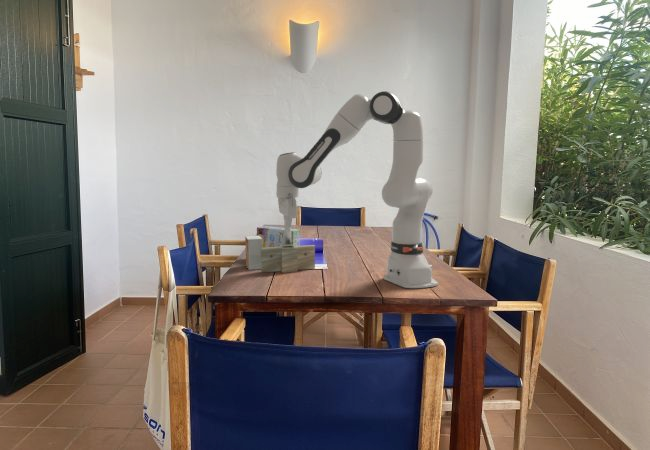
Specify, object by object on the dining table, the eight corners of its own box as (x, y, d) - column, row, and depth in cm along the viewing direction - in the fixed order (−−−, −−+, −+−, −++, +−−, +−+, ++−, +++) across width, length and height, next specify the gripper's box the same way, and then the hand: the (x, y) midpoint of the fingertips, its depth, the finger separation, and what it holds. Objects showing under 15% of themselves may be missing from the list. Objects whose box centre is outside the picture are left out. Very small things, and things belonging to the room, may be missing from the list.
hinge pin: (291, 244, 197) (291, 212, 195) (285, 244, 197) (284, 212, 195) (290, 242, 200) (290, 211, 198) (284, 243, 199) (283, 212, 197)
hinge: (316, 270, 200) (316, 246, 198) (262, 273, 194) (262, 249, 192) (312, 266, 206) (312, 243, 204) (260, 270, 200) (260, 246, 198)
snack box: (300, 262, 214) (300, 229, 212) (293, 264, 210) (292, 230, 207) (264, 256, 226) (263, 225, 224) (256, 259, 221) (255, 226, 219)
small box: (245, 265, 208) (245, 236, 206) (260, 264, 210) (259, 235, 208) (248, 270, 200) (247, 239, 198) (263, 269, 202) (262, 238, 200)
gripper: (300, 195, 186) (300, 230, 188) (290, 190, 205) (290, 222, 208) (284, 195, 184) (285, 230, 186) (275, 191, 204) (276, 223, 206)
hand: (287, 226), depth 197 cm, fingers closed on hinge pin, 3 cm apart
